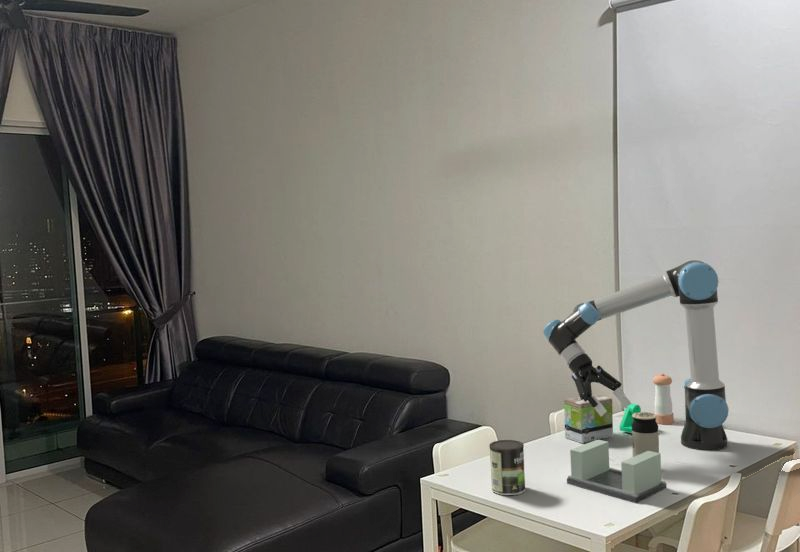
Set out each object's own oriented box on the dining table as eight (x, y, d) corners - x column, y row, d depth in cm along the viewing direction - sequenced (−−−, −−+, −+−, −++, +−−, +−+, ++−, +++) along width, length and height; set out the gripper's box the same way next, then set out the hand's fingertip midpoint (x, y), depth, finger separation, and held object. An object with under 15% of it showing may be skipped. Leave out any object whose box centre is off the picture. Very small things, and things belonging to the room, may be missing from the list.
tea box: (582, 444, 264) (581, 403, 263) (564, 438, 273) (562, 398, 272) (614, 436, 271) (612, 397, 270) (595, 431, 280) (593, 392, 279)
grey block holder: (571, 478, 226) (570, 449, 225) (598, 467, 235) (597, 439, 234) (634, 496, 209) (633, 465, 208) (661, 483, 218) (660, 453, 217)
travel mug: (662, 468, 235) (660, 413, 233) (656, 476, 228) (654, 419, 227) (637, 465, 239) (635, 410, 238) (630, 473, 232) (628, 416, 231)
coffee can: (530, 486, 225) (528, 441, 224) (517, 498, 216) (515, 451, 215) (500, 482, 231) (497, 438, 230) (485, 493, 222) (483, 447, 221)
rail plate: (567, 483, 226) (566, 476, 226) (598, 470, 236) (597, 463, 236) (636, 503, 208) (635, 495, 207) (666, 488, 218) (666, 481, 218)
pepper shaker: (671, 425, 282) (670, 375, 281) (652, 423, 286) (650, 374, 284) (675, 420, 288) (673, 372, 287) (656, 418, 292) (654, 371, 291)
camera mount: (636, 437, 270) (635, 409, 269) (619, 433, 276) (618, 406, 276) (657, 431, 276) (656, 404, 275) (641, 427, 282) (640, 400, 282)
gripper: (592, 360, 261) (631, 408, 250) (547, 372, 245) (586, 424, 234) (604, 347, 256) (644, 395, 246) (559, 358, 240) (600, 410, 230)
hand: (616, 409), depth 240 cm, fingers open, 13 cm apart
